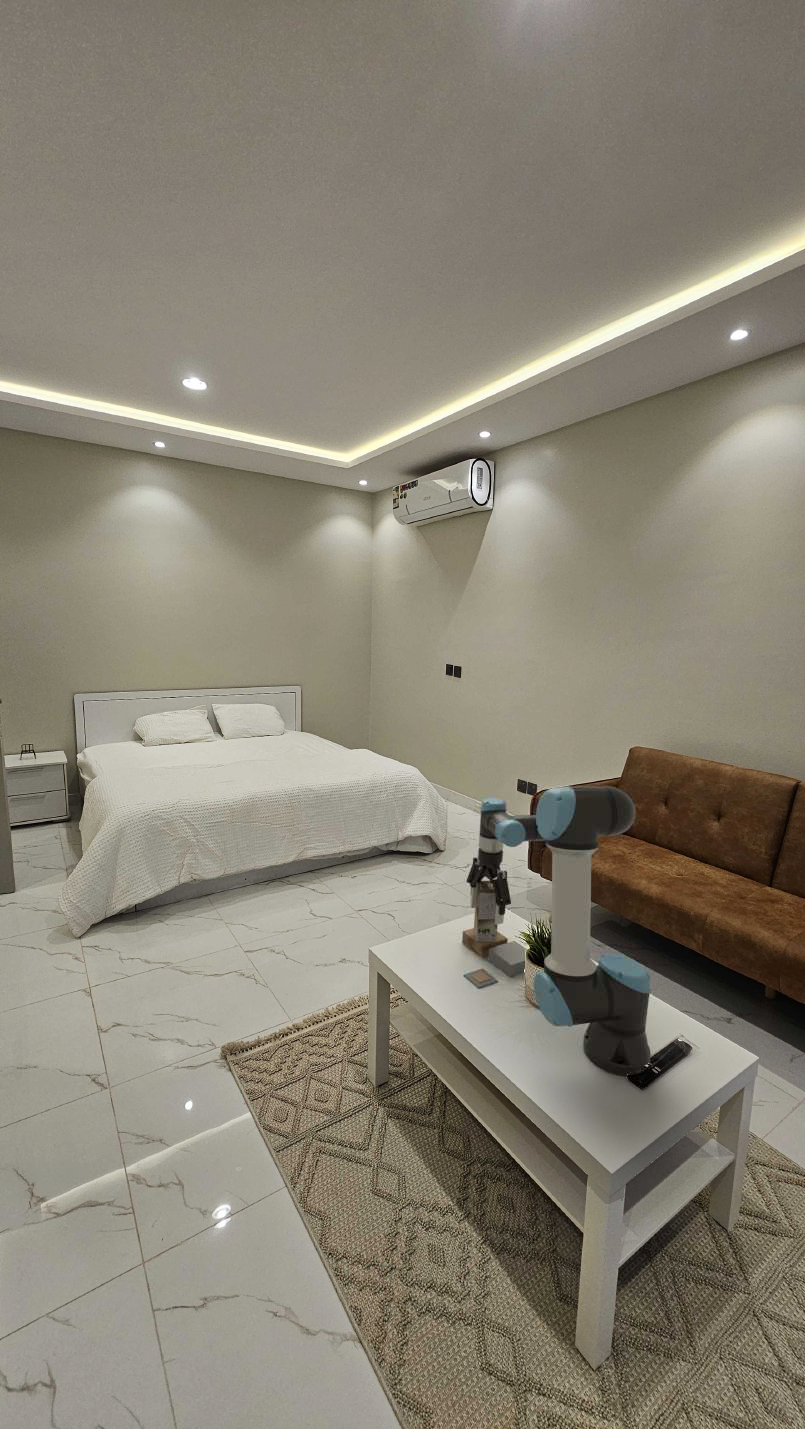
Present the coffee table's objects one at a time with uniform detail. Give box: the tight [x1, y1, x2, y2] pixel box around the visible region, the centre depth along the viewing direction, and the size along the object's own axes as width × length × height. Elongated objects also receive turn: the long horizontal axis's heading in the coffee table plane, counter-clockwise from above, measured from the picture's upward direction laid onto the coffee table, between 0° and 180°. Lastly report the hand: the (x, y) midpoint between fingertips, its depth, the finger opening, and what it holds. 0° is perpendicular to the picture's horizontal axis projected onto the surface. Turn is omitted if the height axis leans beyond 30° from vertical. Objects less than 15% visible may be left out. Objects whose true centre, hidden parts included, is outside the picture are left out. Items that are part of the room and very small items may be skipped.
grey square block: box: [487, 940, 527, 979], centre depth 180 cm, size 10×10×4 cm
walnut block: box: [461, 927, 509, 959], centre depth 190 cm, size 10×10×4 cm
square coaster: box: [463, 968, 499, 989], centre depth 173 cm, size 7×7×1 cm
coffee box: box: [473, 880, 498, 942], centre depth 189 cm, size 9×6×16 cm
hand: (486, 914), depth 189 cm, fingers open, 12 cm apart
